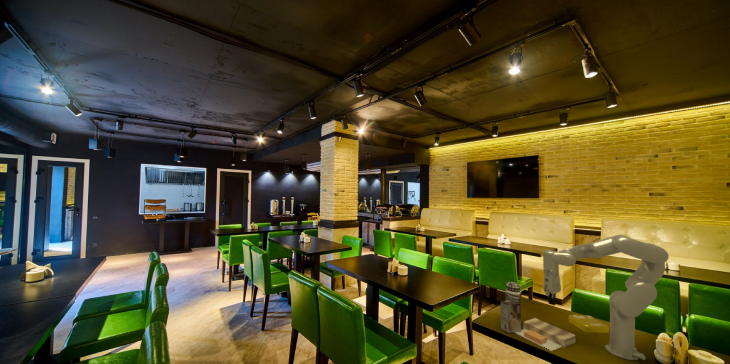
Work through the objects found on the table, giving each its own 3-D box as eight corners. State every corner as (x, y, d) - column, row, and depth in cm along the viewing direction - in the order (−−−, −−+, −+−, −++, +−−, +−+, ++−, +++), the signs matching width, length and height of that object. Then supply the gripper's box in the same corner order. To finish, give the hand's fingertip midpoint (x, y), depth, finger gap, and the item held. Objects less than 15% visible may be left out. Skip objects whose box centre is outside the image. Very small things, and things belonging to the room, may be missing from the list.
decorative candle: (523, 327, 168) (524, 285, 168) (508, 326, 168) (509, 285, 168) (515, 320, 177) (517, 280, 177) (501, 319, 177) (502, 280, 177)
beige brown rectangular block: (575, 342, 153) (575, 335, 153) (563, 347, 147) (564, 340, 147) (534, 324, 172) (535, 317, 172) (523, 328, 166) (523, 321, 166)
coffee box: (512, 326, 168) (512, 299, 169) (521, 331, 162) (521, 303, 163) (500, 328, 165) (500, 300, 166) (508, 333, 159) (508, 304, 160)
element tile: (586, 333, 164) (586, 325, 164) (567, 321, 179) (567, 313, 179) (610, 334, 165) (611, 325, 165) (589, 321, 180) (589, 314, 180)
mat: (561, 346, 148) (561, 346, 148) (551, 351, 143) (551, 350, 143) (524, 329, 165) (524, 328, 165) (514, 332, 160) (514, 332, 160)
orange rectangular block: (540, 340, 148) (540, 344, 148) (546, 337, 151) (546, 342, 151) (524, 331, 156) (523, 336, 156) (530, 329, 159) (530, 334, 159)
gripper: (551, 275, 154) (552, 309, 153) (565, 271, 161) (566, 304, 160) (537, 272, 160) (538, 304, 159) (551, 268, 167) (552, 299, 167)
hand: (552, 304), depth 160 cm, fingers closed
